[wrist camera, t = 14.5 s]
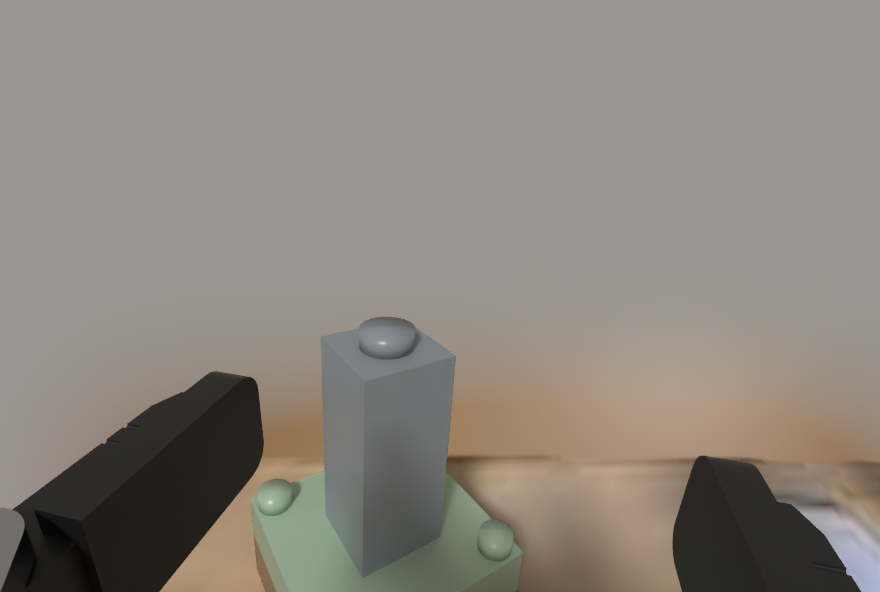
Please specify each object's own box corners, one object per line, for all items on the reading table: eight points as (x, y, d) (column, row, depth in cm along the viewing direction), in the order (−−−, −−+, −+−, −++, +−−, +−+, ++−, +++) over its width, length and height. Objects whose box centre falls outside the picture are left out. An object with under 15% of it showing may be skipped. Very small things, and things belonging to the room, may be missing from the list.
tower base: (409, 498, 39) (413, 426, 36) (511, 623, 30) (526, 539, 27) (257, 568, 32) (248, 485, 29) (327, 757, 23) (324, 662, 20)
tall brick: (397, 483, 32) (404, 303, 27) (440, 537, 28) (457, 337, 23) (325, 514, 29) (320, 318, 24) (362, 578, 25) (365, 361, 21)
